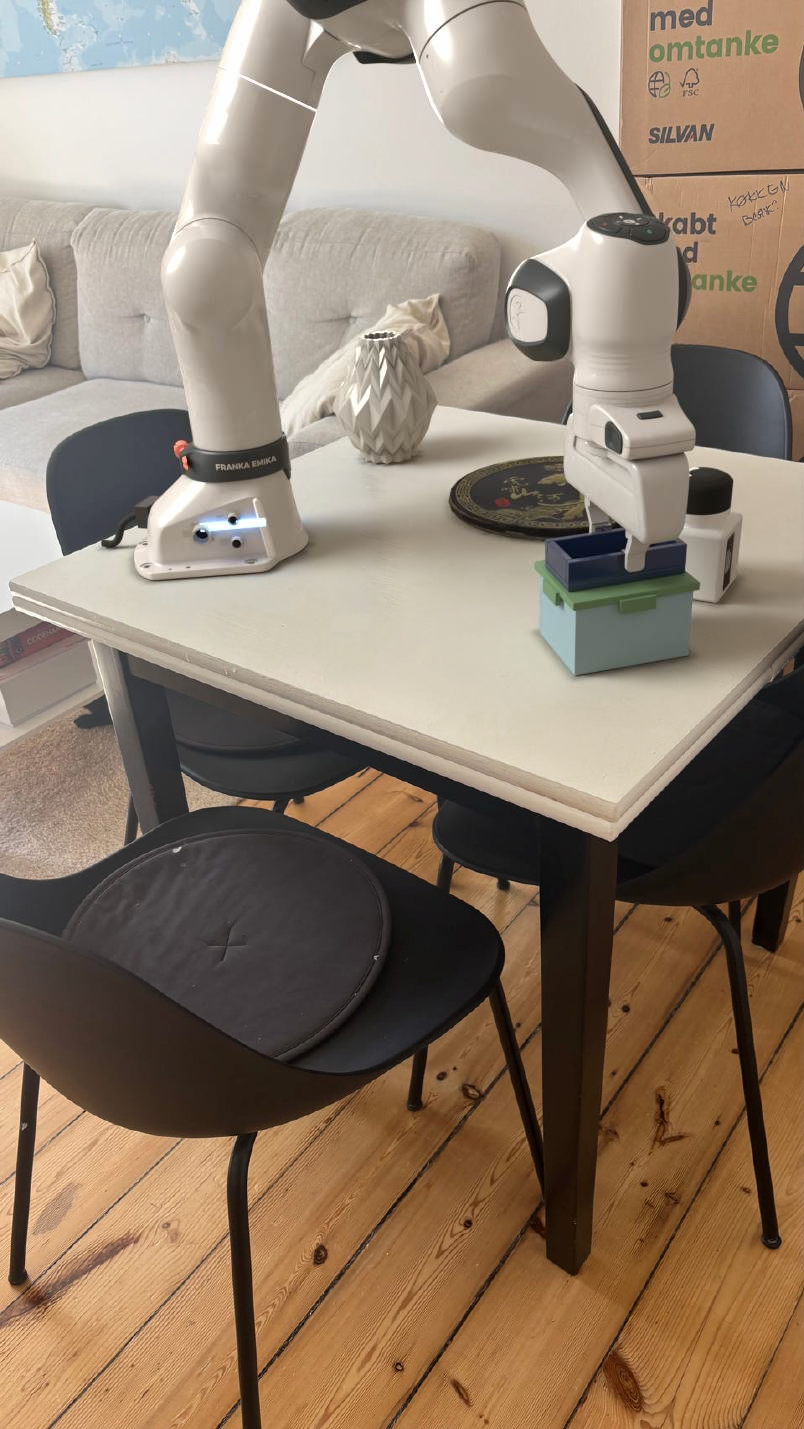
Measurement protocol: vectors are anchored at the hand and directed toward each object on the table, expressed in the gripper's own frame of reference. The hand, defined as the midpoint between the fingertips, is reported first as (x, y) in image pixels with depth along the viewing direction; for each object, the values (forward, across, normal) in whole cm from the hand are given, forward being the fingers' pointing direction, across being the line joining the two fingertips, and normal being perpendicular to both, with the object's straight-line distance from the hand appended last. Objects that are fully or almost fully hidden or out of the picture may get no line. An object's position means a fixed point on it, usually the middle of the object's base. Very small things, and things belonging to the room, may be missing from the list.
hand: (615, 554), depth 103 cm
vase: (+10, -72, -7) cm, 73 cm away
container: (+10, -10, +14) cm, 20 cm away
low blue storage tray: (+2, 0, 0) cm, 2 cm away
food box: (+10, 0, 0) cm, 10 cm away
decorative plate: (+10, -42, +10) cm, 44 cm away
